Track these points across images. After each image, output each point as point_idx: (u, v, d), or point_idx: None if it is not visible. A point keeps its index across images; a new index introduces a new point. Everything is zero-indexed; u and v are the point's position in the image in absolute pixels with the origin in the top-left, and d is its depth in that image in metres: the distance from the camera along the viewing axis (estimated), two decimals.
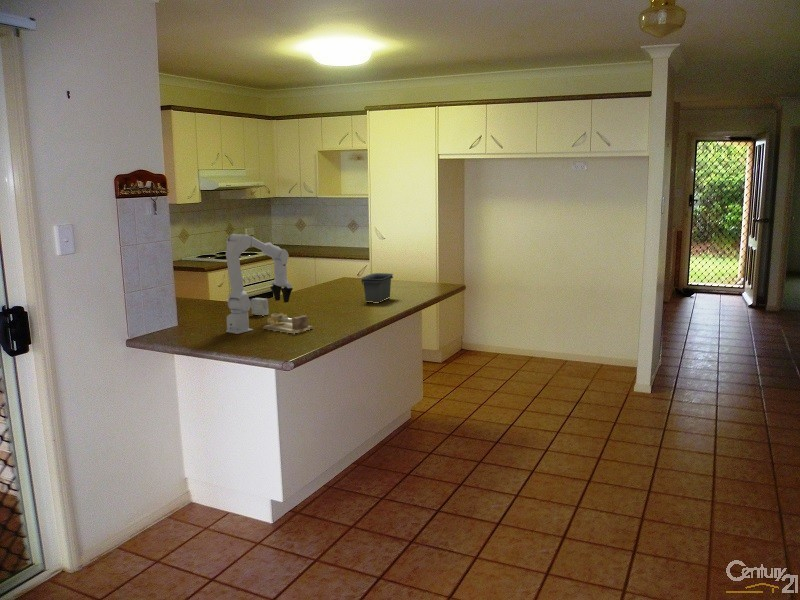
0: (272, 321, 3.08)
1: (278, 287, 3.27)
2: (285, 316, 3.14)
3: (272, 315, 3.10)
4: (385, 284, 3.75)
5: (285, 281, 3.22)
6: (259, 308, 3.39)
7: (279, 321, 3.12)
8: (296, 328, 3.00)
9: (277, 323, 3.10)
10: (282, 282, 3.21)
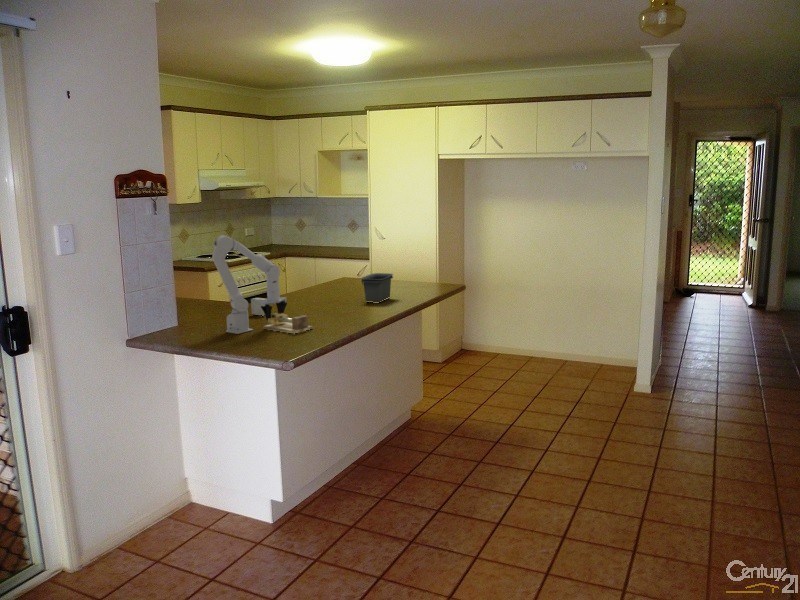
0: (272, 321, 3.08)
1: (280, 304, 3.14)
2: (285, 316, 3.14)
3: (272, 315, 3.09)
4: (385, 284, 3.75)
5: (270, 299, 3.08)
6: (259, 308, 3.39)
7: (279, 321, 3.12)
8: (296, 328, 3.00)
9: (277, 323, 3.10)
10: None
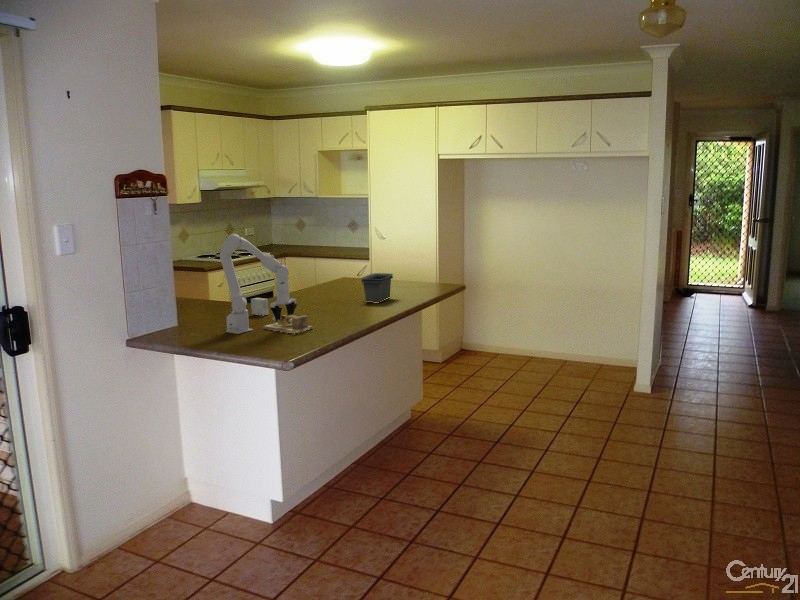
0: (282, 323, 3.04)
1: (290, 305, 3.10)
2: None
3: (282, 316, 3.06)
4: (385, 284, 3.75)
5: (280, 300, 3.05)
6: (259, 308, 3.39)
7: (289, 323, 3.08)
8: (296, 328, 3.00)
9: (287, 325, 3.06)
10: (277, 300, 3.06)
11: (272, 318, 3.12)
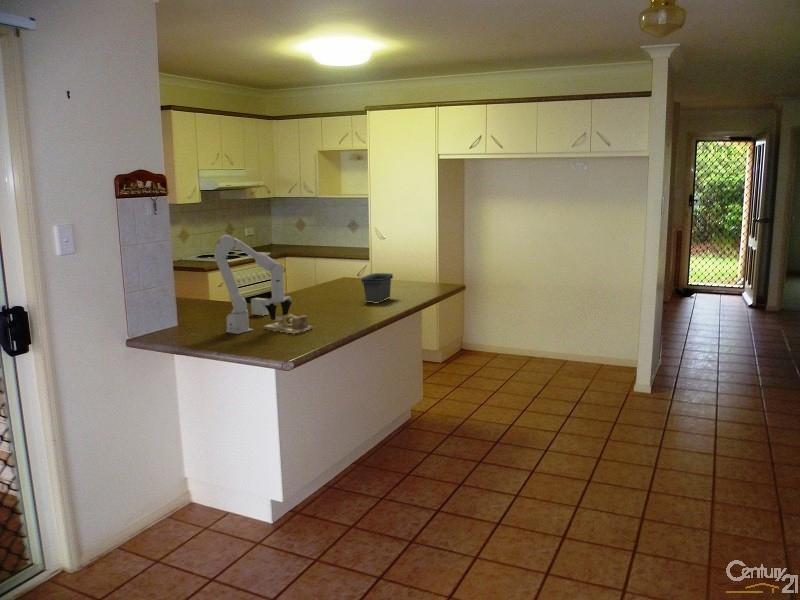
0: (282, 323, 3.04)
1: (285, 303, 3.12)
2: None
3: (282, 317, 3.06)
4: (385, 284, 3.75)
5: (274, 298, 3.07)
6: (259, 308, 3.39)
7: (289, 323, 3.08)
8: (296, 328, 3.00)
9: (287, 325, 3.06)
10: (272, 298, 3.08)
11: None
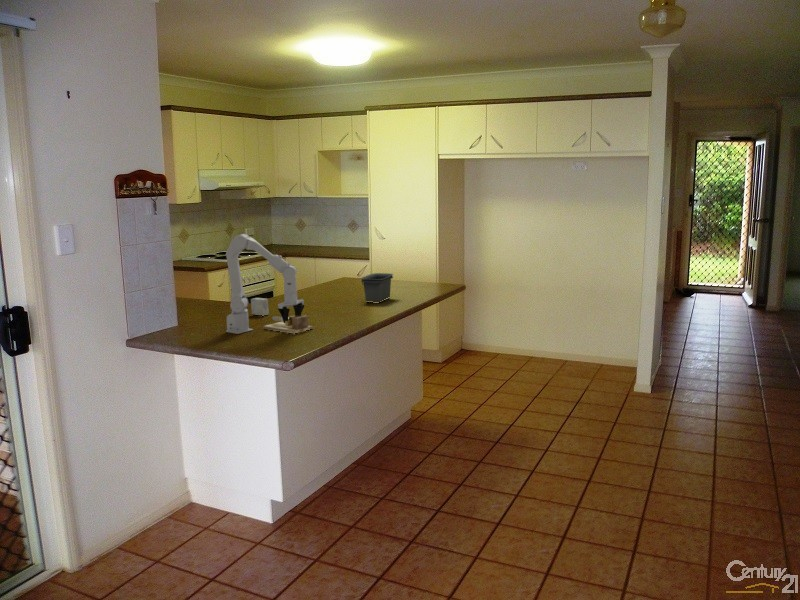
0: (290, 324, 3.01)
1: (298, 306, 3.08)
2: None
3: (290, 318, 3.03)
4: (385, 284, 3.75)
5: (287, 301, 3.02)
6: (259, 308, 3.39)
7: None
8: (296, 328, 3.00)
9: None
10: (285, 301, 3.03)
11: (272, 318, 3.12)
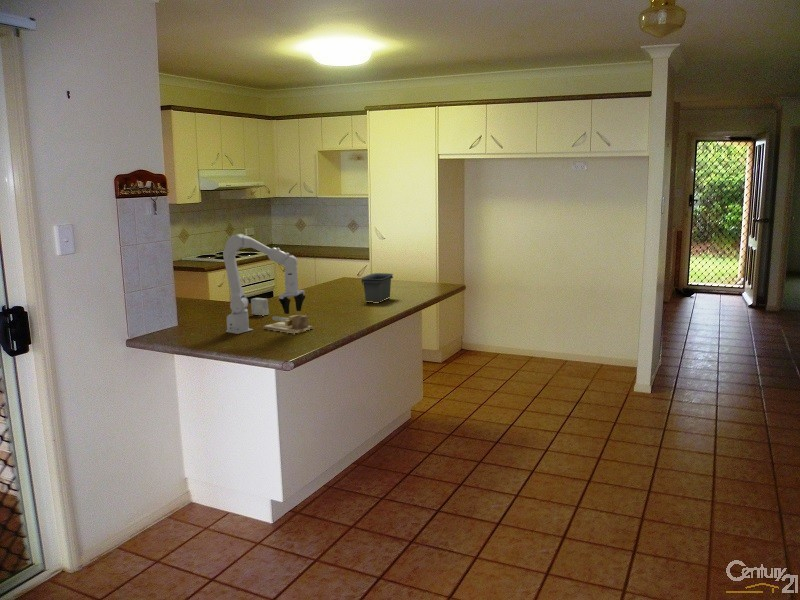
0: (289, 324, 3.01)
1: (299, 297, 3.06)
2: None
3: (289, 318, 3.03)
4: (385, 284, 3.75)
5: (288, 291, 3.01)
6: (259, 308, 3.39)
7: None
8: (296, 328, 3.00)
9: None
10: (286, 292, 3.02)
11: (272, 318, 3.12)
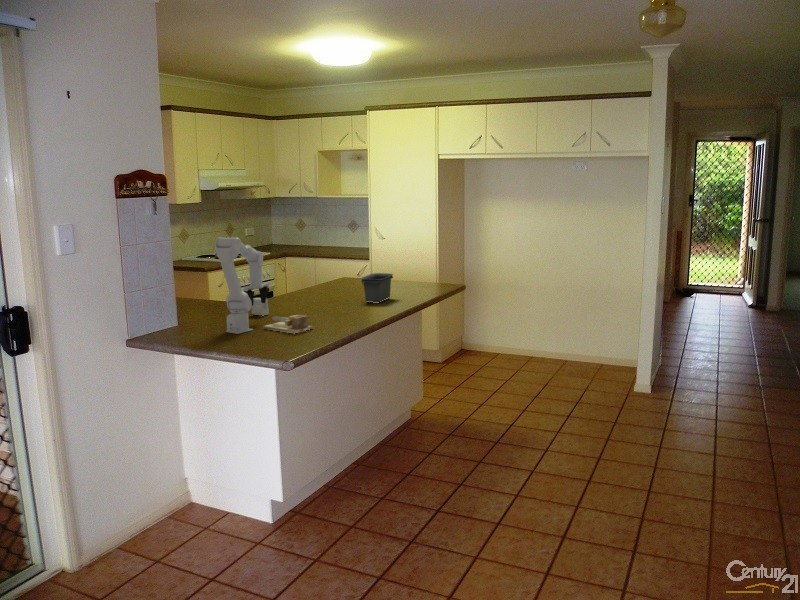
0: (289, 324, 3.01)
1: (263, 290, 3.23)
2: None
3: (289, 318, 3.03)
4: (385, 284, 3.75)
5: (253, 284, 3.17)
6: (259, 308, 3.39)
7: None
8: (296, 328, 3.00)
9: None
10: (250, 284, 3.18)
11: (272, 318, 3.12)
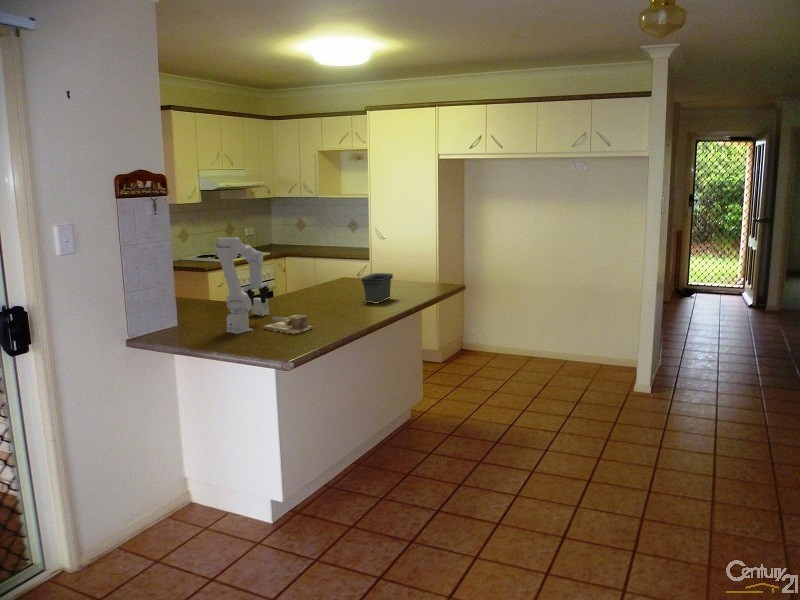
0: (289, 324, 3.01)
1: (263, 290, 3.23)
2: None
3: (289, 318, 3.03)
4: (385, 284, 3.75)
5: (253, 284, 3.17)
6: (259, 308, 3.39)
7: None
8: (296, 328, 3.00)
9: None
10: (250, 284, 3.18)
11: (272, 318, 3.12)
